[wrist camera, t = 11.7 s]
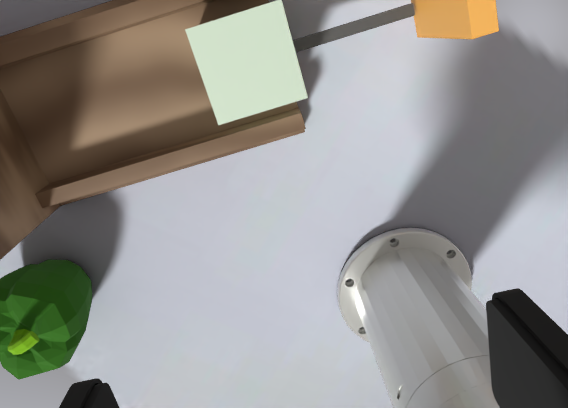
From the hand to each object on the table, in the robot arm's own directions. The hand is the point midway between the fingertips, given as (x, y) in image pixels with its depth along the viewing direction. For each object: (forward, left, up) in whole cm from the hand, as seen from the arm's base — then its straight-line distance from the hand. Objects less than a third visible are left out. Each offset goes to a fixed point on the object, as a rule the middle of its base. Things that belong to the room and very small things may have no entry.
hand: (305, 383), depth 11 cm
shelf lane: (+6, +8, -28) cm, 30 cm away
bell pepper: (-8, +22, -29) cm, 37 cm away
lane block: (+6, -6, -27) cm, 28 cm away
